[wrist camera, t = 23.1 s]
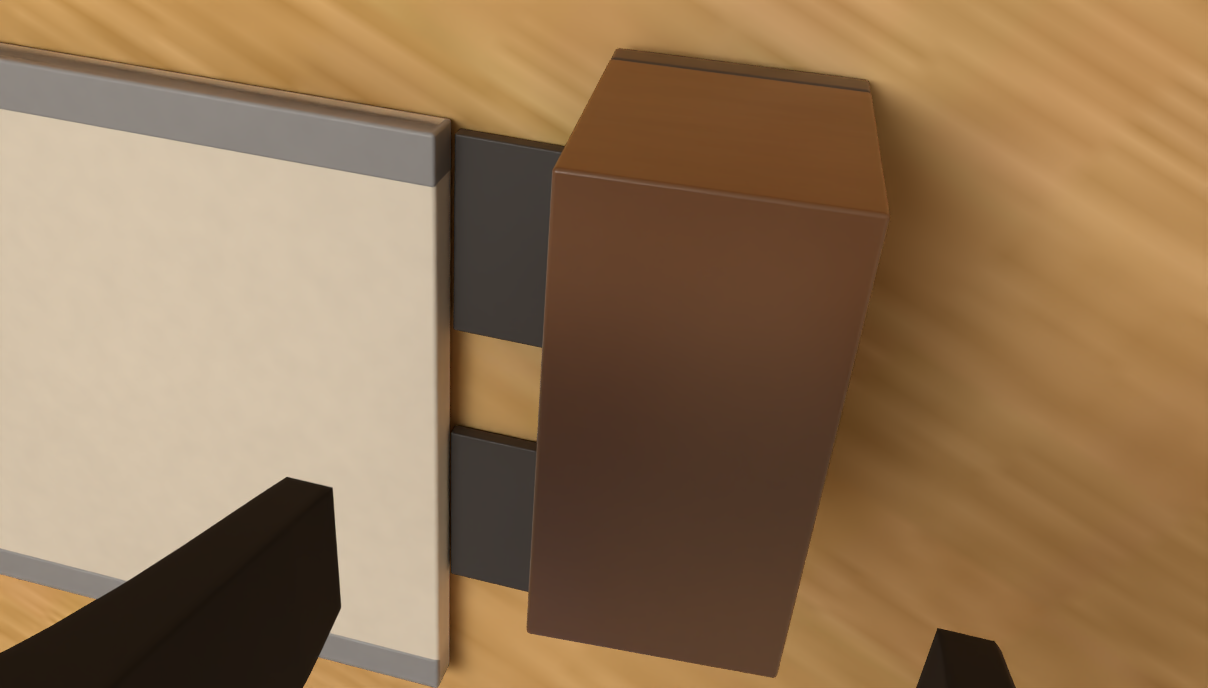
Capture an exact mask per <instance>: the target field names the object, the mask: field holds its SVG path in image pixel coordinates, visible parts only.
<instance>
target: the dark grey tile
mask: <svg viewBox="0 0 1208 688" xmlns="http://www.w3.org/2000/svg"><path fill="white" fill-rule="evenodd" d="M563 149H564V146H558V145H553V144H547V143H541V142H535V141H529V140H524V139H518V138H512V137H506V136H501V135H495V134H489V133H483V132H478V131H472V130H466V129H460V130H458V131H457V132H456V133H455V179H454V323H453V328H454V330H459V331H463V332H468V333H473V334H478V335H483V336H488V337H493V338H498V339H502V340H507V341H512V342H517V343H522V344H527V345H532V346H536V347H541V348H542V344H543V326H544V308H545V290H546V272H547V254H548V237H549V219H550V201H551V183H552V170H553V168H554V166H555V164H556V162H557V161H558V159H559V157H560V155H561V153H562V151H563Z"/></svg>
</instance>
